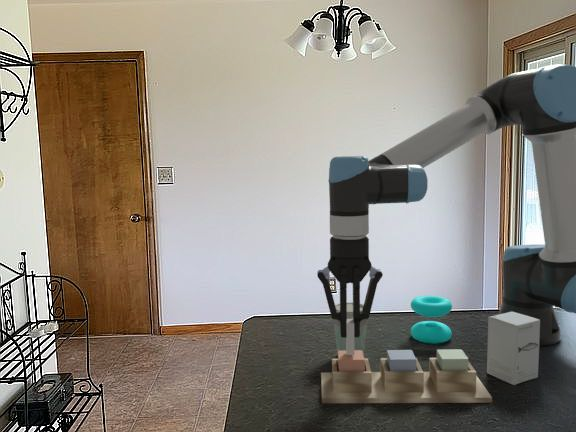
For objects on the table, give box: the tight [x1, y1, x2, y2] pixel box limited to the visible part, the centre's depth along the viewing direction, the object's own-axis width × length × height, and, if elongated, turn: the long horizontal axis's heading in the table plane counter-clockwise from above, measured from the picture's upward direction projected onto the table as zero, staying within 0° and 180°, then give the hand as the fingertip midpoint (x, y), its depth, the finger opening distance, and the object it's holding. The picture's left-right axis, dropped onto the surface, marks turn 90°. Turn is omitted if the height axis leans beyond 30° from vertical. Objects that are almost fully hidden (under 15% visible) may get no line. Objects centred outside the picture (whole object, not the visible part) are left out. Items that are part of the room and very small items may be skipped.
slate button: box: [386, 349, 417, 371], centre depth 109 cm, size 5×5×4 cm
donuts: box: [410, 295, 453, 344], centre depth 137 cm, size 10×10×10 cm
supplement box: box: [486, 312, 540, 386], centre depth 114 cm, size 7×7×13 cm
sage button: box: [436, 348, 470, 371], centre depth 109 cm, size 5×5×4 cm
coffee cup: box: [332, 301, 368, 355], centre depth 126 cm, size 8×8×12 cm
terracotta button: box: [337, 350, 365, 372], centre depth 110 cm, size 5×5×4 cm
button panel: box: [320, 357, 493, 404], centre depth 110 cm, size 32×12×5 cm, turn 87°
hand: (350, 352), depth 109 cm, fingers closed
